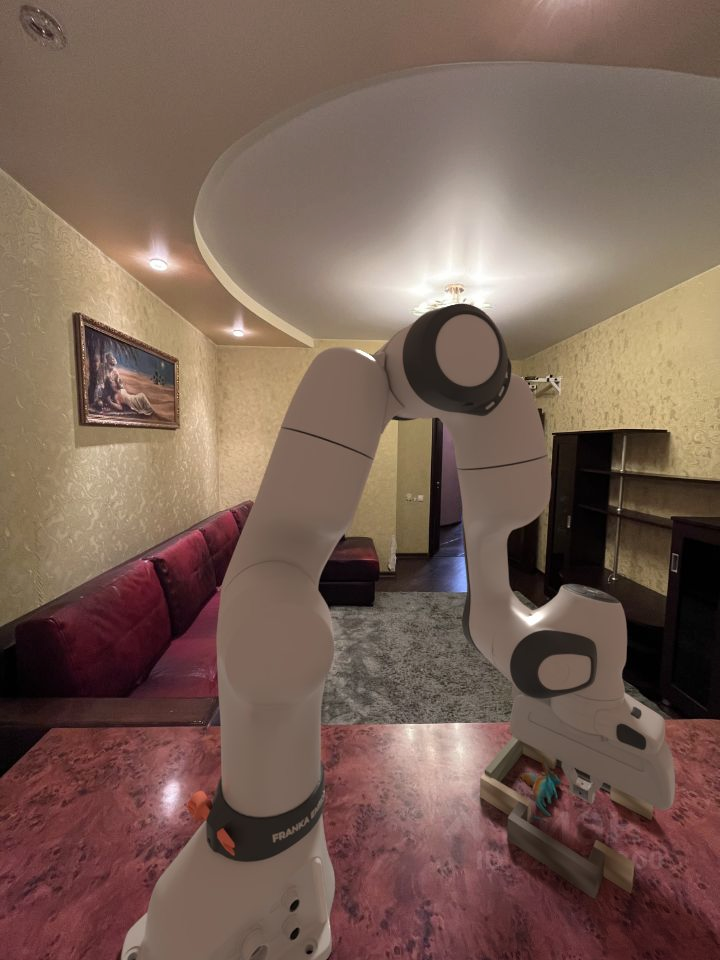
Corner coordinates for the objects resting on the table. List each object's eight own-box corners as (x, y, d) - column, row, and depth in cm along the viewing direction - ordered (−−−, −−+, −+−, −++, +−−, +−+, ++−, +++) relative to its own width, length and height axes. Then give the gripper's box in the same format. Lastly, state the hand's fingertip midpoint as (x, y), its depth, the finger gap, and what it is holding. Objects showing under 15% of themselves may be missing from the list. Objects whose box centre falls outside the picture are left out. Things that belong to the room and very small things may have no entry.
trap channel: (657, 799, 60) (658, 777, 60) (623, 919, 44) (625, 889, 44) (528, 736, 73) (528, 717, 73) (467, 811, 58) (468, 788, 57)
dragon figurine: (592, 826, 55) (569, 763, 62) (545, 811, 54) (527, 749, 61) (563, 846, 58) (544, 783, 65) (518, 832, 57) (504, 770, 64)
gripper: (503, 681, 61) (501, 768, 62) (673, 750, 47) (667, 861, 48) (520, 666, 66) (518, 747, 67) (680, 724, 52) (674, 826, 53)
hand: (581, 795), depth 57 cm, fingers closed
